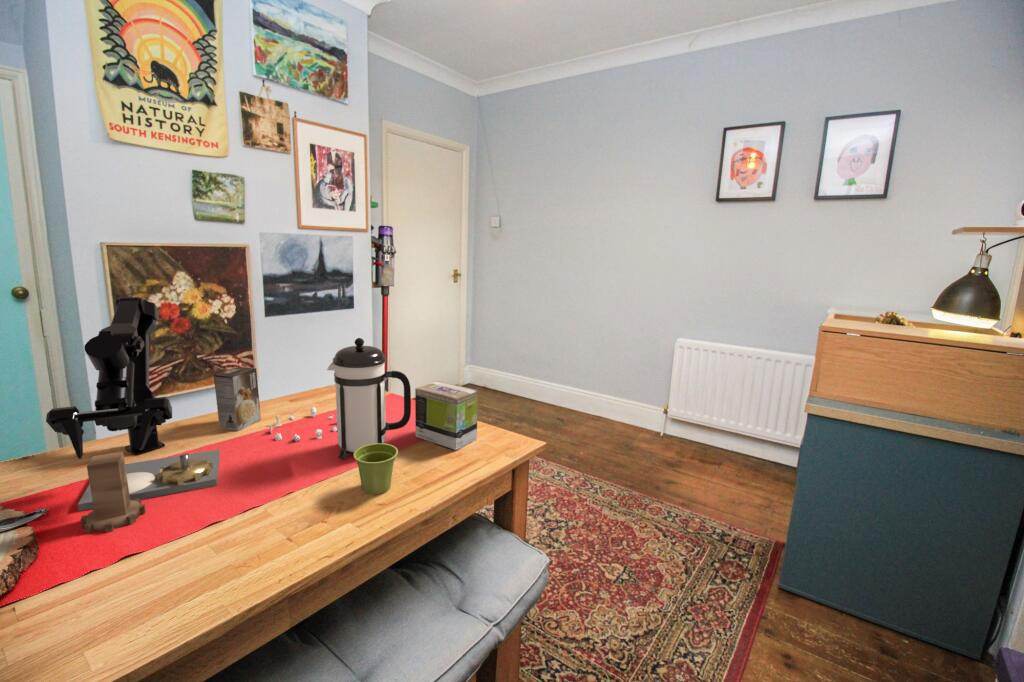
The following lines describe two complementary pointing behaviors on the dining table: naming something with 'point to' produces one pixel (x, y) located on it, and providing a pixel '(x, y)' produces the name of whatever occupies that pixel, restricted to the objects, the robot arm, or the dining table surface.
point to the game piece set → (296, 437)
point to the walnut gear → (110, 495)
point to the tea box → (446, 414)
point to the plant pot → (376, 466)
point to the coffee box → (237, 398)
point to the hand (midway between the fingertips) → (110, 453)
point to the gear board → (146, 480)
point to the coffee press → (363, 397)
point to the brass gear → (185, 470)
